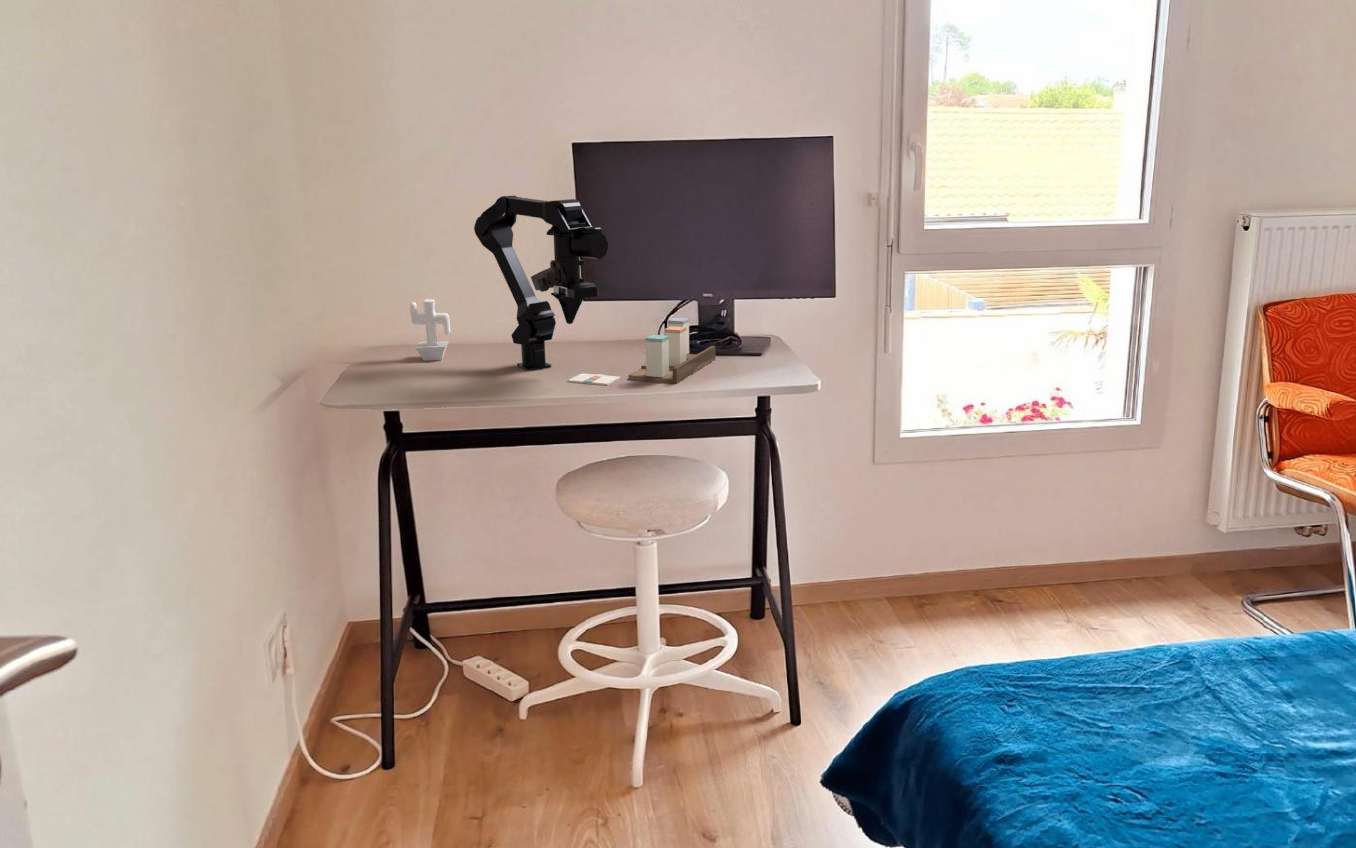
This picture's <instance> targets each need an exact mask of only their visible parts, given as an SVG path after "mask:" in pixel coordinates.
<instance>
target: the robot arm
mask: <svg viewBox="0 0 1356 848" xmlns="http://www.w3.org/2000/svg"><path fill="white" fill-rule="evenodd" d="M517 216H523V217H531V218H537V219H541V220H543V221H544V222H545V223H546V224H549V225H552V226H551V227H550V228H549V229H548V230H547V231H546V235H547V236H552V237H553V252H554V253H553V255H554V256H553V257H554V259H553V260H552V259H551V261H550V262H549V263H550V264H549V265H550V267H548V268H545V269H543V270H542V271H539V272H537V273H535V274H533V275H532V276H530V279H531V282H532V284H533V287H534V289H535V291H540V292H541V293H542V292H547V291H549V289H551V288H552V289H553V292H550V295H551V296H553V297H554V298H555V299H556V300H558V302H559V304H560V307H561V309H562V313H563V317H564V319H565V322H566V324H568V325H572V324H573V323H574V321H575V318H576V317H577V314H578V312H579V310H580V307H581V305H582V303H583V302H584V299H585V298H594V297H598V296H599V293H600V292H599V286H598V285H597V284H595V283H593V282H592V283H591V282H588V281H586V282H585V278H583V277H581V266H584V260H583V259H580V258H585V259H586V258H587V259H595V260H601V259H603V258H604V257H605V256H606V255H607V253H608V250H609V242H608V240H607V238H606V237H607V236H606V235H604V234H603V232H602V228H601V227H598V226H597V227H593V225H592V224H591V222H590V220H589V218H588V216H587V215H586V213H585V211H584V209H583V208H582V205H581V203H580V201H579V200H577V199H575V198H571V199H570V198H569V199H557V200H542V199H534V198H528V197H521V196H520V197H519V196H517V195H501V196H499V198H497V199H496V201H494V203H493V204H492V205H491V206H489V207H488V208H487V209H485V210H484V211H483V212H482V213H481V214H480V216H479V217H477V218H476V220H475V223H474V225H473V226H474V227H473V229H474V233H475V235H476V237H477V239H478V241H479V242H480V244H481V246H483V247H484V248H485V249H487V250H488V251H489V252H490V253H492V254H493V256H494V258H495V260H496V262H497V264H498V267H499V270H500V271H501V274H502V275H503V278H504V280H505V283H506V284H507V287H508V288H509V291H510V293H511V295H512V297H513V299H514V301H515V303H516V305H517V311H516V321H517V324H518V325H517V327H516V328H515V329H514V331H513V332H512V333H511V339H512V342H513V344H515V345H520V346H521V347H520V348H521V349H520V350H521V351H520V352H521V362H517V363H516V366H517V367H520V368H522V369H523V370H526V371H531V370H538V369H545V368H551V367H552V364H550V363H547V361H546V341H552V340H553V336H554V331H555V329H556V324H557V323H556V318H555V316H556V314H555V313H554V312H553V310H552V307H551V304H550V303H549V301H547V300H544V301H541V300H539V298H538V297H537V296H536V293H535V291H534V290H533V287H532V285H531V283H530V280H529V279H528V277H527V274H526V272H525V270H524V268H523V266H522V264H521V261H520V259H519V258H518V255H517V253H516V250H515V249H514V247H513V242H514V241H513V240H514V232H513V226H514V225H515V224H516V223H517V218H518V217H517Z"/></svg>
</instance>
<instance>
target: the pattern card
mask: <svg viewBox="0 0 1356 848" xmlns="http://www.w3.org/2000/svg"><path fill="white" fill-rule="evenodd" d="M621 379H622V378H621V376H618V375H617V376H614V375H606V374H601V373H600V374H599V373H597V374H593V373H580V374H577V375H575V376H573V377H571V378H569V379H568V380H567V382H568V383H577V384H589V385H597V386H599V385H600V386H609V385H611V384H613V383H615V382H617V381H619V380H621Z"/></svg>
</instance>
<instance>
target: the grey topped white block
mask: <svg viewBox="0 0 1356 848" xmlns="http://www.w3.org/2000/svg"><path fill="white" fill-rule="evenodd" d="M670 326H674V327H686V355H687V354H690V318H686V317H685V318H683V317H673V318H670V319H668V320H667V328H668V327H670Z"/></svg>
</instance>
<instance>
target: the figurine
mask: <svg viewBox="0 0 1356 848" xmlns="http://www.w3.org/2000/svg"><path fill="white" fill-rule="evenodd" d="M422 303H423V309H424V312H423V313H422V312H418V305H417V303H416V302H414V301H412V302H410V303H409V311H410V319H411V323H412V324H413V325H415V326H417V325H425V332H426V333H425V334H426V341H419V342H418V344H417V345H416V346H415V349H416V351H417V352H418V354H419V355H420V357H421V359H422V361H426V362H427V361H442V360H443V358H444V356H445V354H446V350H447V347H448V344H449V341H448V340H442V341H441V340H439V341H438V335H437V325H442V326H443V327H442V328H443V333H444V334H445V335H450V334H451V320H450V319H451V318H450V315H449V314H448V313H447V312H436V309H435V308H436V303H435V299H433V298H426V299H424V300H423V301H422Z"/></svg>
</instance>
